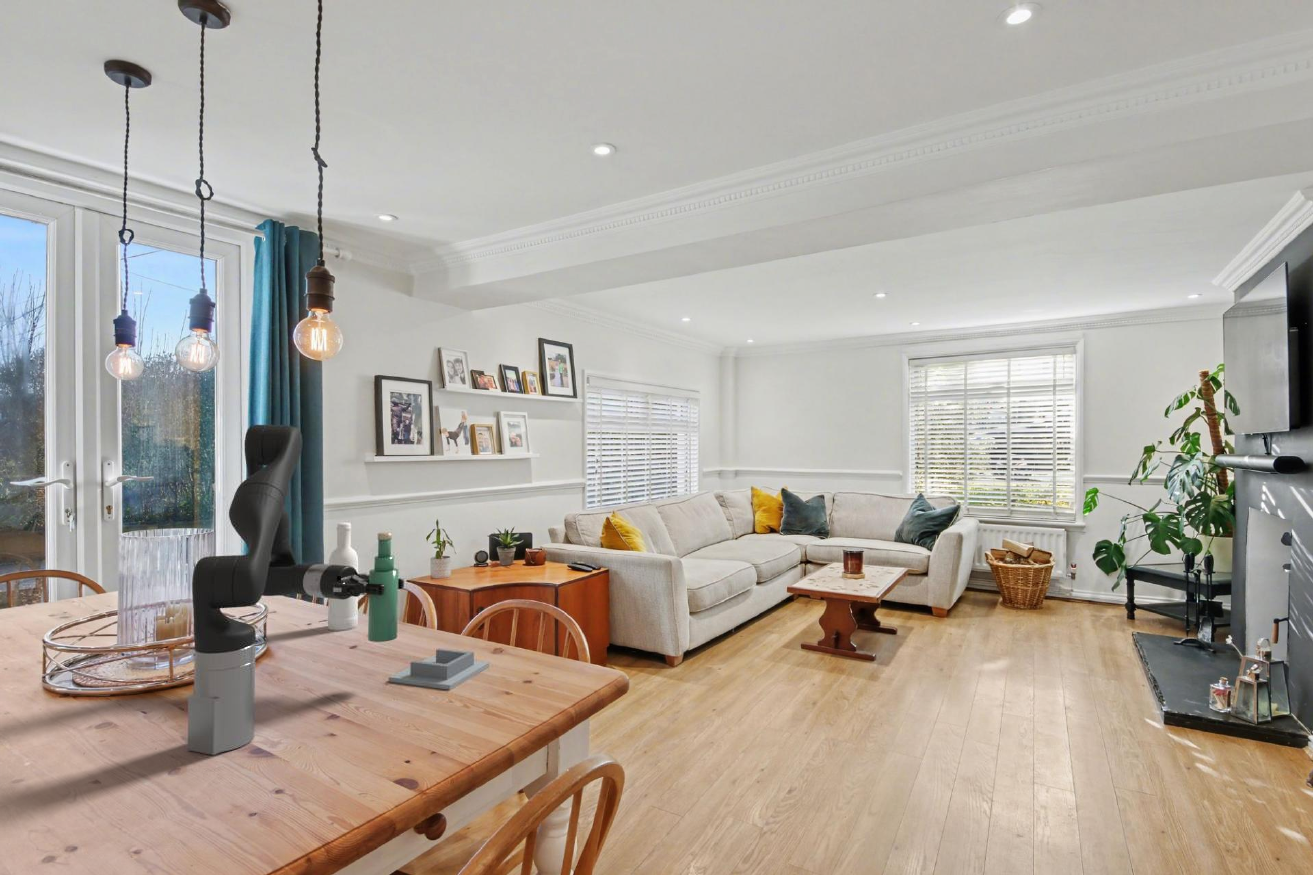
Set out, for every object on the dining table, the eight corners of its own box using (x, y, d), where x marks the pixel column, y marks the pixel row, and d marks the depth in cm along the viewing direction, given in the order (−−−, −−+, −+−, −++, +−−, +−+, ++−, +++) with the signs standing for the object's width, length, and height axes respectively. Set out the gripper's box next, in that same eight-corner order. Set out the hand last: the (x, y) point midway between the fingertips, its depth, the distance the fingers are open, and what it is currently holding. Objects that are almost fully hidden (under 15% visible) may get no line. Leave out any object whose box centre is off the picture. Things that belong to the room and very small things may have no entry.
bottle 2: (385, 643, 148) (387, 536, 148) (362, 640, 150) (364, 534, 150) (402, 635, 154) (404, 532, 154) (380, 633, 155) (382, 531, 156)
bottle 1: (363, 624, 201) (364, 521, 201) (348, 631, 193) (349, 525, 193) (337, 623, 202) (338, 521, 202) (321, 630, 194) (323, 524, 194)
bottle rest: (450, 689, 149) (450, 671, 149) (388, 681, 153) (388, 663, 153) (489, 666, 164) (489, 650, 164) (431, 660, 169) (432, 643, 169)
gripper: (306, 570, 149) (371, 575, 144) (353, 559, 163) (413, 564, 158) (306, 604, 149) (370, 611, 144) (352, 591, 163) (413, 596, 158)
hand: (393, 586), depth 151 cm, fingers closed on bottle 2, 6 cm apart
